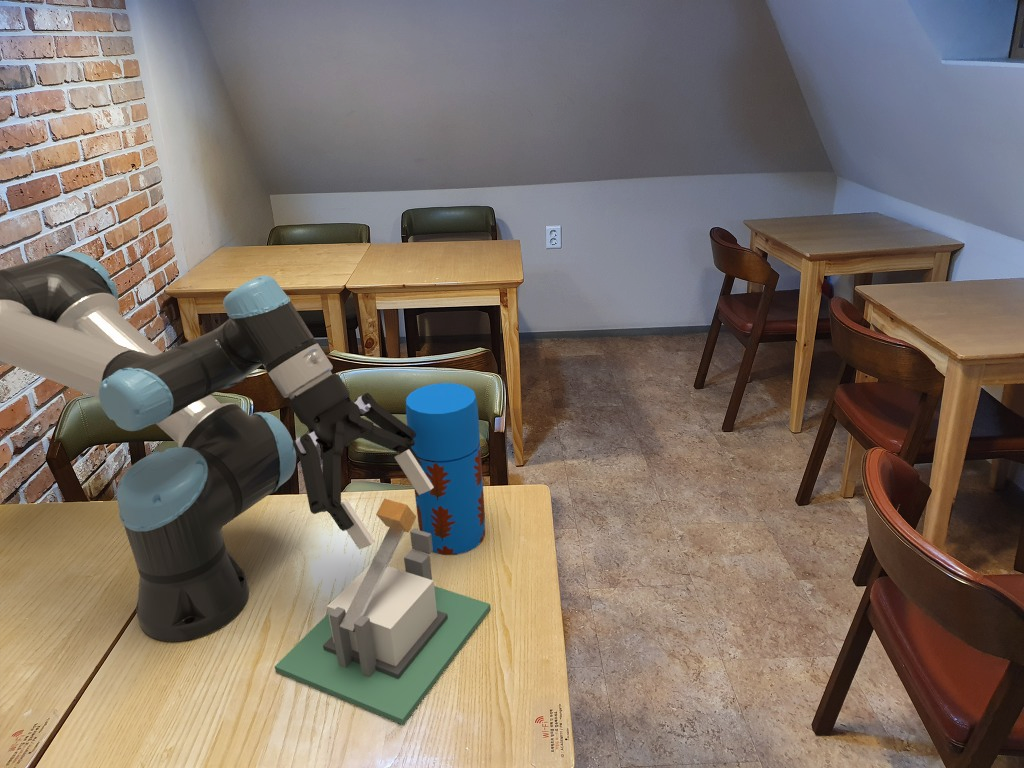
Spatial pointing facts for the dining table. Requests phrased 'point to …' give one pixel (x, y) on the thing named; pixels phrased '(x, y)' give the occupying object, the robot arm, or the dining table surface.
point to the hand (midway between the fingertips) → (398, 517)
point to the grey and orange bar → (380, 557)
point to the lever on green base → (388, 639)
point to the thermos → (448, 465)
